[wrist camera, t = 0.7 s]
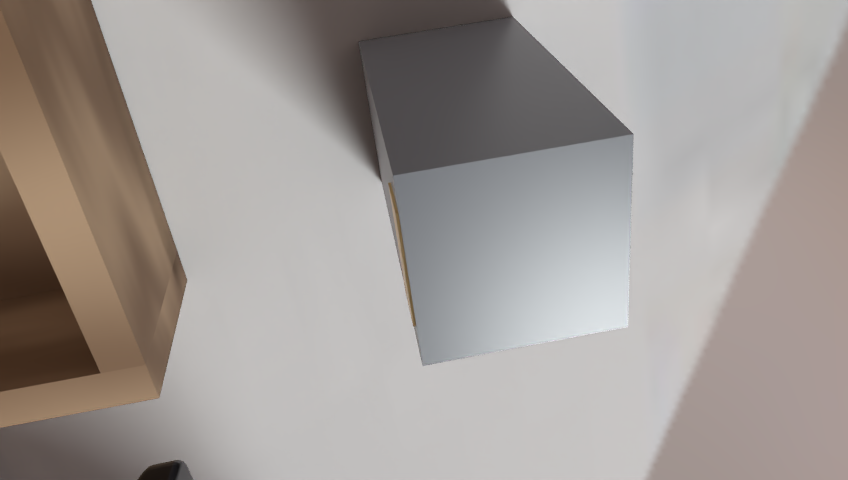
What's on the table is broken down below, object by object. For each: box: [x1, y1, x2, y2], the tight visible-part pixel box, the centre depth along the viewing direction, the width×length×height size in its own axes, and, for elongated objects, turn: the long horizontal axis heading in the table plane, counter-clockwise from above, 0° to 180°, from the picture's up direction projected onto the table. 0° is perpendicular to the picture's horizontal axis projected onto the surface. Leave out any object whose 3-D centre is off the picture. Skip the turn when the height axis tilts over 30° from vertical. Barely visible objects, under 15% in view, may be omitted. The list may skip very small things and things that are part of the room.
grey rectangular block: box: [359, 17, 633, 366], centre depth 16 cm, size 4×4×8 cm
